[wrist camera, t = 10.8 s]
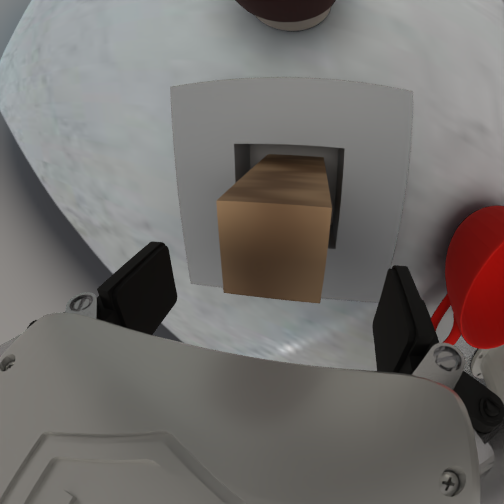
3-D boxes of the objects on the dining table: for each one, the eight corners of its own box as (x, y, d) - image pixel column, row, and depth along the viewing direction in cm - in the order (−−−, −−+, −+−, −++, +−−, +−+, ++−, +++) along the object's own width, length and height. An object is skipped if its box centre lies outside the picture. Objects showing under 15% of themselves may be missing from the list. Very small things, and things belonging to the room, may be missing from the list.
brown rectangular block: (323, 157, 23) (331, 208, 11) (320, 209, 25) (319, 303, 14) (268, 154, 24) (216, 200, 12) (268, 205, 26) (223, 292, 14)
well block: (393, 95, 19) (413, 91, 14) (372, 270, 28) (380, 302, 23) (197, 90, 23) (170, 86, 18) (209, 256, 31) (190, 283, 27)
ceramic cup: (379, 274, 28) (396, 341, 19) (478, 160, 19) (538, 190, 11) (439, 326, 29) (459, 386, 20) (525, 236, 20) (568, 280, 12)
